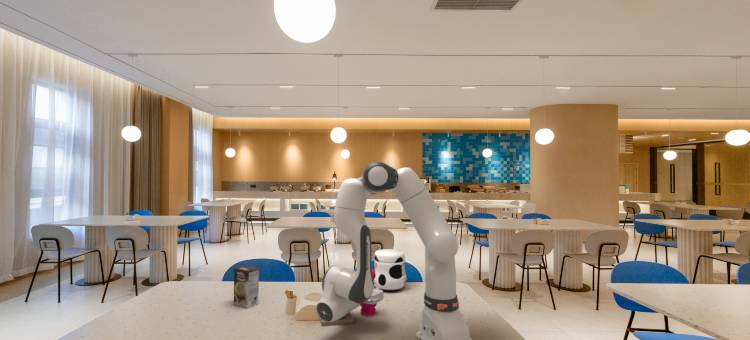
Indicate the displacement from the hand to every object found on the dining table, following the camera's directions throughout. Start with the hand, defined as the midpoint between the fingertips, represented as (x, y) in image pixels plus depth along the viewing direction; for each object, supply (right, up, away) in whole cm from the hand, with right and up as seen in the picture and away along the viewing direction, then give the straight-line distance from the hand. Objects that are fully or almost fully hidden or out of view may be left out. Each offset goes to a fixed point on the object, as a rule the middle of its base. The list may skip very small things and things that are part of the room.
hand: (368, 286), depth 139 cm
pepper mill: (0, -11, 0) cm, 11 cm away
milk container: (+10, -12, +31) cm, 35 cm away
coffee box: (-54, -11, +9) cm, 56 cm away
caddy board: (-14, -11, -1) cm, 18 cm away
